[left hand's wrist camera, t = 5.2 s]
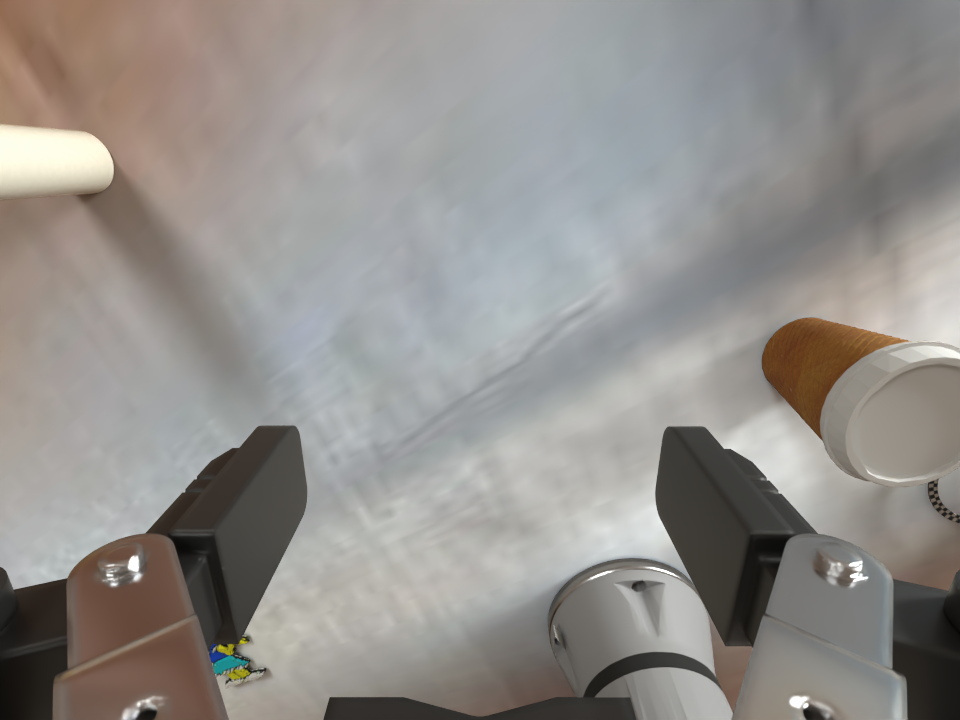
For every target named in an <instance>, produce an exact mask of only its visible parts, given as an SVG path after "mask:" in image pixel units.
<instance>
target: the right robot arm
mask: <svg viewBox="0 0 960 720" xmlns="http://www.w3.org/2000/svg"><path fill="white" fill-rule="evenodd" d="M548 630H549V636H550V643H551V647H552V650H553V652H554V655H555V658H556V660H557V662H558V664H559V666H560V668H561V669H562V671H563V673H564V675H565V677H566V679H567V680H568V682H569V684H570V686H571V688H572V690H573V692H574V693H575V695H576V697H630V698H631V702H632V706H633V709H634V713H635V716H636V720H731V719H732V715H733V712H732V710H731V708H730V706H729V703H728V701H727V699H726V697H725V695H724V693H723V691H722V689H721V687H720V685H719V682H718V680H717V678H716V675H715V669H714V660H713V651H712V641H711V633H710V623H709V618H708V615H707V611H706V608H705V605H704V603H703V601H702V599H701V597H700V595H699V593H698V591H697V589H696V588H695V586H694V585H693V584H692V582H691V581H690V580H689V579H688V578H687V577H686V576H685V575H684V574H682V573H681V572H679V571H678V570H676V569H675V568H673V567H671V566H669V565H666V564H664V563H660V562H657V561H653V560H648V559H638V558H628V559H617V560H612V561H607V562H604V563H600V564H598V565H595V566H592V567H590V568H588V569H586V570H584V571H582V572H581V573H579V574H578V575H576V576H575V577H573V578H572V579H571V580H570V581H568V582H567V583H566V584H565V585H564V586H563V587H562V589H561V590H560V591H559V592H558V594H557V595H556V597H555V598H554V600H553V602H552V605H551V607H550V611H549V615H548Z"/></svg>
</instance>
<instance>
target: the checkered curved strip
mask: <svg viewBox="0 0 960 720" xmlns="http://www.w3.org/2000/svg"><path fill="white" fill-rule="evenodd" d="M937 485H938V479H937V480H934V481H931V482H928V494H929V498H930V501H931V503H932V505H933V506H934V508H935V509H936V510H937V511H938V512H939V513H940V514H941V515H943V516H944V517H946V518H947V519H949V520H952V521H954V522H957V523H960V515H957V514H955V513H953V512H951V511H949V510H948V509H947V508H946V507H945V506H944V505H943V504H942V502H941V501H940V498H939V496H938V490H937Z"/></svg>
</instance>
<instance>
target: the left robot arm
mask: <svg viewBox="0 0 960 720" xmlns="http://www.w3.org/2000/svg"><path fill="white" fill-rule="evenodd" d="M655 496H656V506H657V510H658V514H659V517H660V519H661V521H662V523H663V525H664V527H665V529H666V531H667V533H668V534H669V536H670V538H671V540H672V542H673V544H674V546H675V548H676V550H677V552H678V554H679V556H680V558H681V560H682V562H683V564H684V566H685V568H686V570H687V572H688V574H689V576H690V578H691V580H692V582H693V583H694V585H695V587H696V589H697V591H698V593H699V595H700V597H701V599H702V601H703V603H704V605H705V607H706V609H707V611H708V613H709V615H710V617H711V619H712V621H713V623H714V625H715V627H716V629H717V630H718V632H719V634H720V636H721V638H722V640H723V642H724V644H725V646H752V648H753V650H752V653H751V656H750V660H749V663H748V666H747V669H746V673H745V676H744V679H743V683H742V686H741V689H740V692H739V696H738V699H737V702H736V706H735V709H734V712H733V715H732V719H731V720H960V570H959V571H958V572H957V573H956V575H955V577H954V580H953V582H952V584H951V587H950V589H949V591H946V590H941V589H936V588H932V587H927V586H922V585H918V584H913V583H908V582H904V581H899V580H895V579H892V576H891V574H890V573H889V571H888V570H887V568H886V567H885V566H884V565H883V564H882V563H881V562H880V561H879V560H878V559H876V558H875V557H874V556H872V555H871V554H870V553H868V552H867V551H865V550H863V549H861V548H860V547H858V546H856V545H854V544H852V543H849V542H847V541H844V540H842V539H839V538H835V537H832V536H827V535H822V534H818V533H817V532H816V531H815V530H814V529H813V528H812V527H811V526H810V525H809V523H808V522H807V521H806V520H805V519H804V518H803V517H802V516H801V515H800V514H799V513H798V511H797V510H796V509H795V508H794V507H793V506H792V505H791V504H790V503H789V502H788V501H787V499H786V498H785V497H784V496H783V495H782V494H779V493H778V490H777V489H776V487H775V486H774V485H773V484H772V483H771V482H770V481H767V480H766V477H765V475H764V474H763V473H762V472H761V471H760V470H759V469H758V468H757V467H756V466H755V465H754V463H753V462H751V461H749V460H748V459H746V458H745V457H743V456H741V455H740V454H738V453H736V452H735V451H733V450H731V449H724V448H723V447H722V446H721V445H720V444H719V443H718V441H717V440H716V439H715V438H714V437H713V436H712V434H711V433H710V432H709V431H708V430H707V429H706V428H705V427H667V428H666V429H665V431H664V434H663V439H662V447H661V454H660V461H659V468H658V475H657V482H656V491H655ZM306 502H307V483H306V476H305V469H304V462H303V455H302V448H301V440H300V434H299V431H298V429H297V427H296V426H258V427H257V428H256V429H255V430H254V431H253V433H252V434H251V435H250V436H249V437H248V438H247V440H246V441H245V442H244V443H243V444H242V446H241V447H240V448H232V449H230V450H229V451H227V452H225V453H224V454H222V455H220V456H219V457H217V458H216V459H214V460H212V461H211V462H210V463H209V464H208V465H207V466H206V467H205V468H204V469H203V471H202V472H201V473H200V474H199V475H198V476H197V480H194V481H193V482H192V483H191V484H190V485H189V486H188V487H187V488H186V491H185V493H182V494H181V495H180V496H179V497H178V498H177V499H176V500H175V501H174V503H173V504H172V505H171V506H170V507H169V508H168V509H167V510H166V511H165V512H164V514H163V515H162V516H161V517H160V518H159V519H158V520H157V521H156V522H155V523H154V525H153V526H152V527H151V528H150V529H149V530H148V531H147V532H146V533H145V534H138V535H133V536H128V537H125V538H121V539H118V540H116V541H113V542H111V543H108V544H106V545H104V546H102V547H100V548H99V549H97V550H95V551H93V552H92V553H90V554H89V555H88V556H86V557H85V558H84V559H82V560H81V561H80V562H79V563H78V564H77V565H76V566H75V567H74V568H73V570H72V571H71V573H70V574H69V576H68V578H67V579H62V580H57V581H53V582H48V583H43V584H39V585H34V586H29V587H25V588H20V589H15V590H13V587H12V585H11V582H10V580H9V578H8V575H7V573H6V571H5V570H4V569H3V568H1V567H0V720H229V719H228V715H227V712H226V709H225V706H224V702H223V699H222V696H221V692H220V689H219V686H218V683H217V679H216V676H215V673H214V669H213V666H212V663H211V660H210V656H209V653H208V651H209V650H210V648H211V646H212V644H239V642H240V640H241V638H242V636H243V634H244V632H245V630H246V628H247V626H248V624H249V622H250V620H251V618H252V616H253V614H254V612H255V610H256V608H257V606H258V604H259V602H260V601H261V599H262V597H263V595H264V593H265V591H266V589H267V587H268V585H269V583H270V581H271V579H272V577H273V575H274V573H275V571H276V569H277V567H278V565H279V563H280V561H281V559H282V557H283V555H284V553H285V551H286V549H287V547H288V545H289V543H290V541H291V539H292V537H293V535H294V533H295V531H296V529H297V527H298V525H299V523H300V521H301V519H302V517H303V515H304V512H305V508H306ZM324 720H636V716H635V713H634V709H633V706H632V702H631V698H630V697H556V698H552V699H549V700H545V701H541V702H537V703H534V704H530V705H526V706H522V707H519V708H515V709H511V710H508V711H504V712H500V713H496V714H493V715H489V716H484V717H476V716H471V715H467V714H464V713H460V712H456V711H452V710H449V709H445V708H441V707H438V706H434V705H430V704H426V703H423V702H419V701H415V700H411V699H408V698H404V697H330V698H329V702H328V706H327V709H326V713H325V716H324Z"/></svg>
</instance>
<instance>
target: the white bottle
mask: <svg viewBox="0 0 960 720" xmlns="http://www.w3.org/2000/svg"><path fill="white" fill-rule="evenodd" d="M113 175H114V165H113V161H112V158H111V155H110V153H109V151H108V150H107V148H106V147H105V146H104V145H103V143H101V142H100V141H99V140H98V139H97V138H96V137H94V136H93V135H91V134H89V133H86V132H84V131H79V130H67V129H56V128H44V127H32V126H21V125H9V124H0V201H2V200H15V199H29V198H43V197H56V196H70V195H83V194H95V193H99V192H102V191H103V190H105V189H106V188H107V187H108V186H109V185H110V183H111V182H112V179H113Z"/></svg>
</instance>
